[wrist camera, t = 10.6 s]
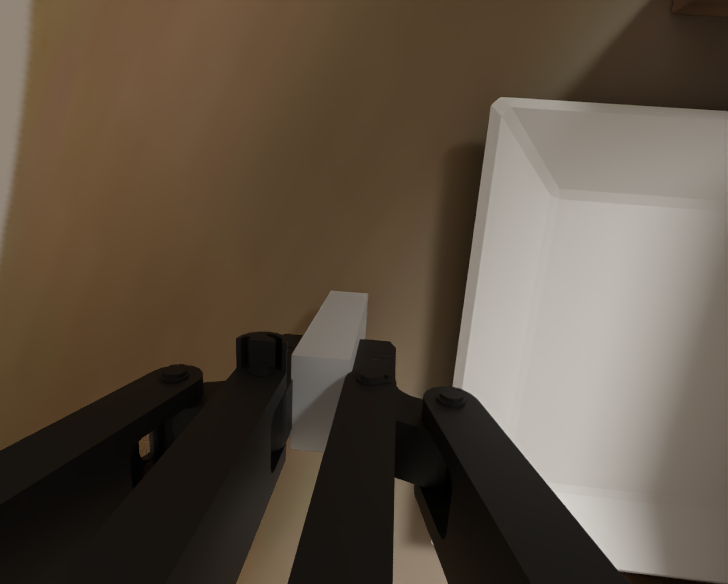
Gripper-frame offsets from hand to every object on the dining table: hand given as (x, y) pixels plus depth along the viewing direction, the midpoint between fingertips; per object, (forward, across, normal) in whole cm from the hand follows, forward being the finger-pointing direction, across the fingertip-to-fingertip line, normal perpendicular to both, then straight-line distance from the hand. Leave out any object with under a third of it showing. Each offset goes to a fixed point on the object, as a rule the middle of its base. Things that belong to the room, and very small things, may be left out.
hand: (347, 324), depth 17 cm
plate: (+2, +14, -1) cm, 14 cm away
